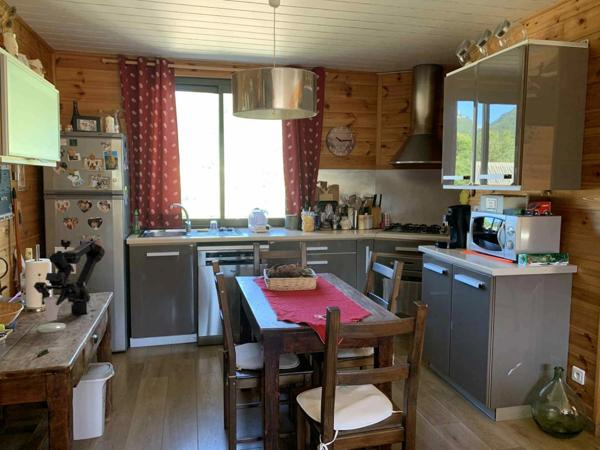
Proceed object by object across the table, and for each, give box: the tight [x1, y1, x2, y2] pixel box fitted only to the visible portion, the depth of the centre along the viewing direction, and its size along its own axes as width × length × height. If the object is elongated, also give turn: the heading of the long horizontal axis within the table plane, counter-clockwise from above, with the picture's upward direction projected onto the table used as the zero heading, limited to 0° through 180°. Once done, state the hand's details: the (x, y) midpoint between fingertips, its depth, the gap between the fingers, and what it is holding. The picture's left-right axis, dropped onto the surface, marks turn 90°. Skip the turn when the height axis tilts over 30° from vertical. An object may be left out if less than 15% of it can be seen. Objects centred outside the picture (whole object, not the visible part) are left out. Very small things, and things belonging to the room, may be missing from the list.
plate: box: [37, 322, 67, 334], centre depth 210 cm, size 11×11×1 cm
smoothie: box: [44, 289, 59, 322], centre depth 209 cm, size 6×6×14 cm
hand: (49, 304), depth 208 cm, fingers closed on smoothie, 6 cm apart
